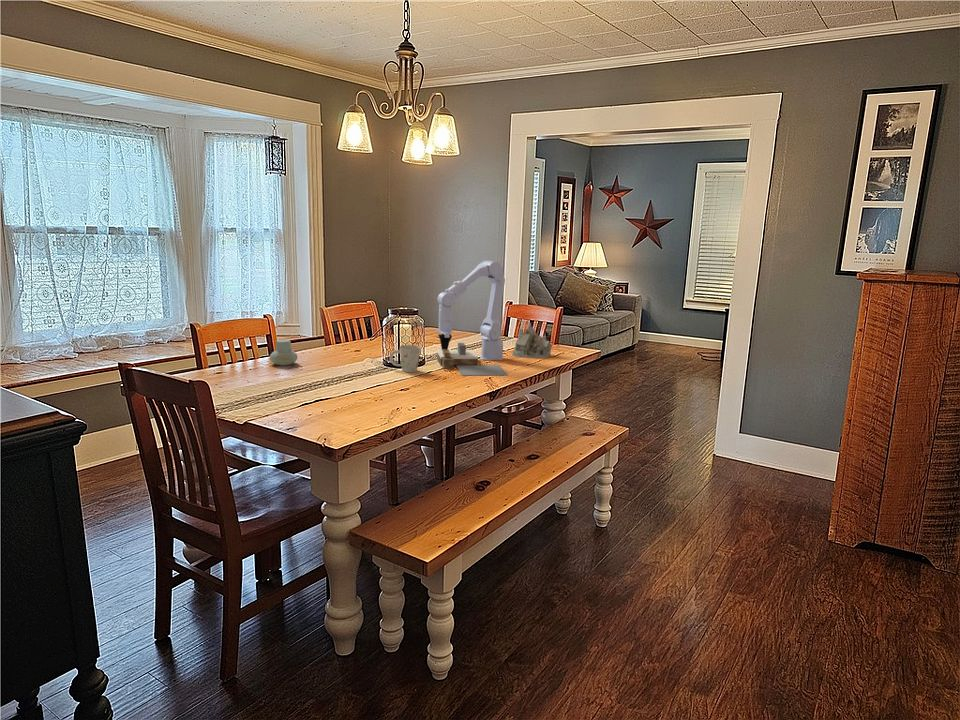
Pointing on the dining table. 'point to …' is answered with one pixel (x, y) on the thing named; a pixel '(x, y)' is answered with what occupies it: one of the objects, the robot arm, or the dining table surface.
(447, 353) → the key
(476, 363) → the brown wooden tray
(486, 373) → the mat
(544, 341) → the ceramic cottage
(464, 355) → the lid
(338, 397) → the dining table surface
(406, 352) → the mug
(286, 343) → the air freshener
